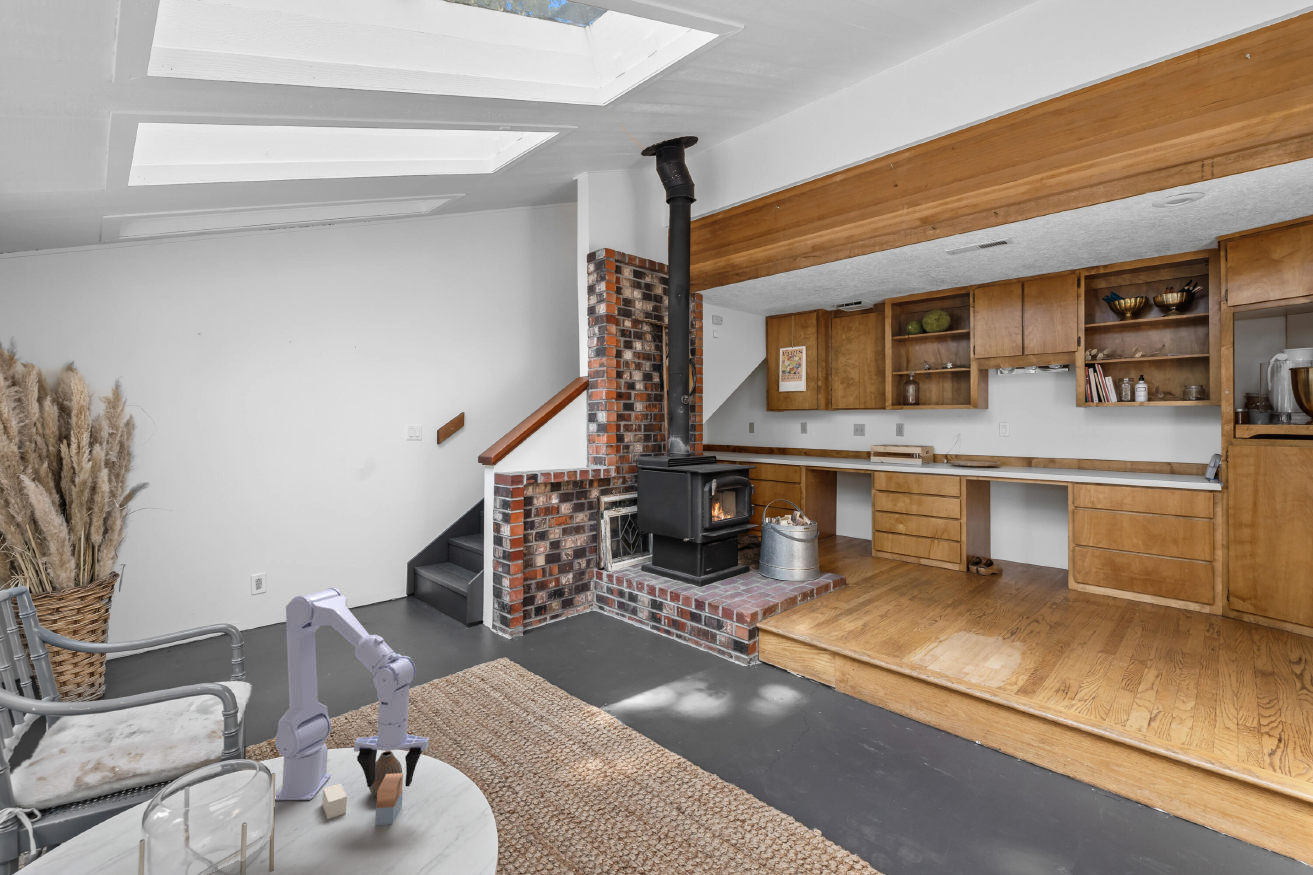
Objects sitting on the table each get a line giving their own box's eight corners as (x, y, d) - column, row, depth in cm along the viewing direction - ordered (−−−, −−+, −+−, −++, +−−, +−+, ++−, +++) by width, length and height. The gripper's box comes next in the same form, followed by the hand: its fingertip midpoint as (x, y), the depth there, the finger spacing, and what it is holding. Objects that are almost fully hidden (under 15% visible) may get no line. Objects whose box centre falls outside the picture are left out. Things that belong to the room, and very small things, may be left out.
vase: (392, 803, 127) (394, 762, 127) (361, 801, 127) (363, 760, 127) (406, 785, 134) (408, 746, 134) (377, 783, 134) (379, 744, 134)
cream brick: (322, 805, 125) (322, 788, 125) (339, 799, 127) (340, 783, 128) (327, 819, 121) (328, 802, 121) (345, 813, 123) (346, 796, 123)
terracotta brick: (394, 806, 120) (394, 789, 120) (376, 807, 119) (377, 789, 120) (402, 790, 126) (403, 773, 126) (385, 790, 125) (386, 773, 125)
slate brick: (385, 807, 125) (386, 790, 126) (401, 806, 126) (402, 789, 126) (375, 825, 120) (376, 807, 120) (392, 824, 120) (393, 806, 120)
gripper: (434, 709, 128) (431, 772, 128) (364, 710, 126) (361, 773, 126) (424, 725, 121) (421, 791, 121) (351, 725, 119) (347, 792, 119)
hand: (389, 783), depth 123 cm, fingers open, 7 cm apart
